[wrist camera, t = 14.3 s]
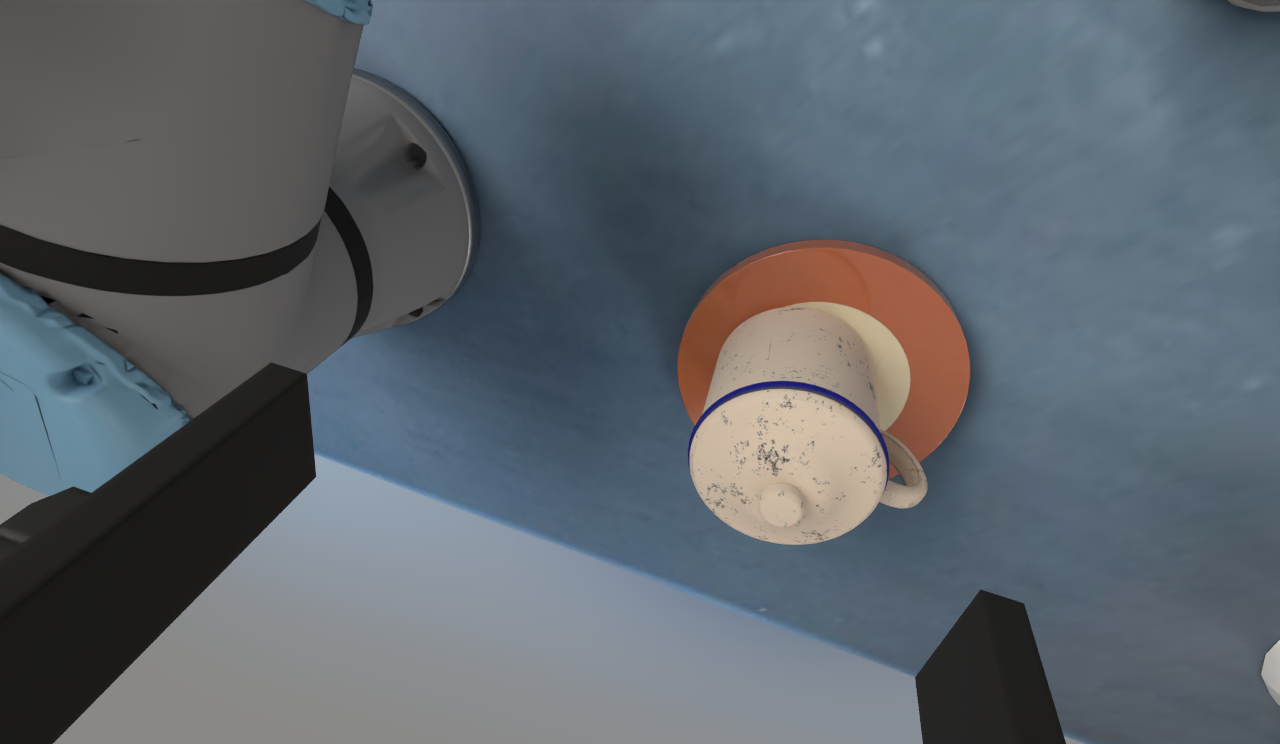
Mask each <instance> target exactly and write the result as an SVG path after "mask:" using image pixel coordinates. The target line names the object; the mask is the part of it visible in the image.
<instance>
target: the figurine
mask: <svg viewBox="0 0 1280 744" xmlns="http://www.w3.org/2000/svg"><path fill="white" fill-rule="evenodd" d="M1261 676H1262V678H1263V680H1264V682H1265V685H1266V687H1267V689H1268V691H1269V693H1270V695H1271V696H1272V697H1273V699H1274V700H1275V701H1276V703H1277V704H1278V705H1279V706H1280V640H1279V641H1278V642H1277V643H1276V644H1275V645H1274V646H1273V647H1272V648H1271V649H1270V650H1269V651H1268V652H1267V653H1266V655H1265V659H1264V663H1263V668H1262V672H1261Z"/></svg>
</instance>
